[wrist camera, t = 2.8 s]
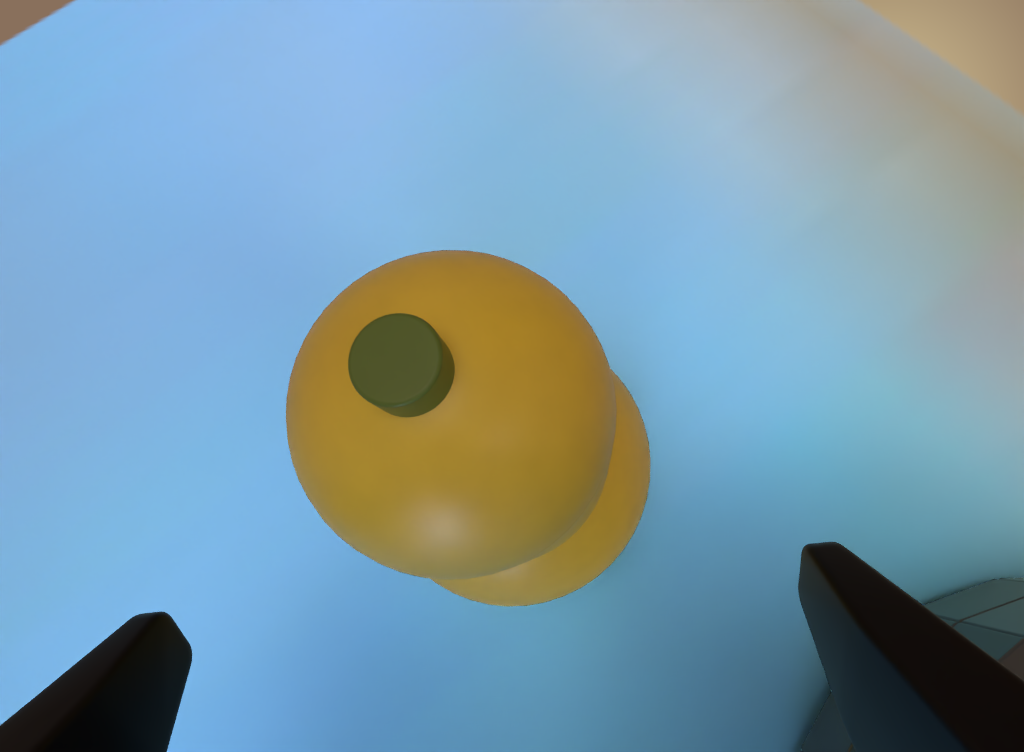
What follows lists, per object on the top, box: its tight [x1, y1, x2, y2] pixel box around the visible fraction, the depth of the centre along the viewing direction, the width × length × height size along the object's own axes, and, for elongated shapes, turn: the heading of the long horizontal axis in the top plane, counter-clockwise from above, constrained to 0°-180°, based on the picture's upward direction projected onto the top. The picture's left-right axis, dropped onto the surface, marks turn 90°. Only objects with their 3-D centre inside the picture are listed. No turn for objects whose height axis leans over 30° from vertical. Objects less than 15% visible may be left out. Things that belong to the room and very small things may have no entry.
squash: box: [286, 250, 650, 606], centre depth 12 cm, size 7×7×13 cm
